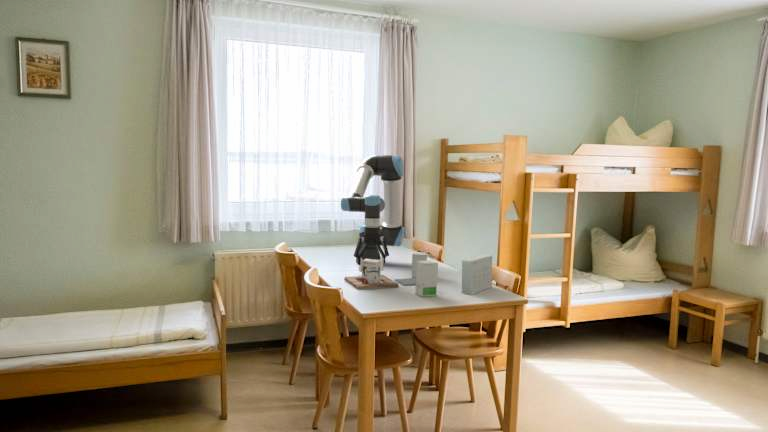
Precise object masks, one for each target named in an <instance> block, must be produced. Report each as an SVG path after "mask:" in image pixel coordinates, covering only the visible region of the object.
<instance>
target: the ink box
mask: <svg viewBox="0 0 768 432" xmlns="http://www.w3.org/2000/svg"><path fill="white" fill-rule="evenodd" d="M381 272H382V271H381V261H380V260H375V259H364V260H362V272H361V276H362V281H361V283H362V284H372V283H381V281H380V275H382V274H381Z"/></svg>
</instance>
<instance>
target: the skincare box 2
mask: <svg viewBox="0 0 768 432" xmlns="http://www.w3.org/2000/svg"><path fill="white" fill-rule="evenodd" d="M490 288H493V255H489V254H482V255H477V256H472V257H470V258H466V259H465V258H464V259H463V260H462V261H461V294H466V295H470V296H472V295H474V294H476V293H479V292H482V291H485V290H487V289H490Z"/></svg>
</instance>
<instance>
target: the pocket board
mask: <svg viewBox="0 0 768 432" xmlns="http://www.w3.org/2000/svg"><path fill="white" fill-rule="evenodd" d="M344 281H345V282H347V283H348V284H349V285H350V286H352V287H353V288H355V289H356V290H359V291H360V290H370V289H371V290H372V289H386V288H387V289H388V288H399V283H398V282H397V281H395V280H392V279H391V278H389V277H387V276H386V275H385V274H381V275H380V283H372V284H363V283H362V275H359V276H358V275H355V276H345V277H344Z"/></svg>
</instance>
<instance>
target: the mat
mask: <svg viewBox="0 0 768 432" xmlns="http://www.w3.org/2000/svg"><path fill="white" fill-rule="evenodd" d="M394 282H396V283H398V284H400V285H402V286H403V287H406V286H416V278H412V277H410V278H396V279H395V278H394Z"/></svg>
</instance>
